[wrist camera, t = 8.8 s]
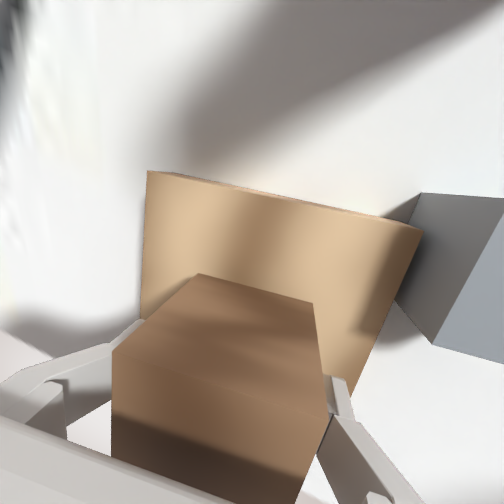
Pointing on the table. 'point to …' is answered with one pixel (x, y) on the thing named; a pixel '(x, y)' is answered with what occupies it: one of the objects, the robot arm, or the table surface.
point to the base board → (278, 257)
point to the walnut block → (222, 392)
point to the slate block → (458, 274)
